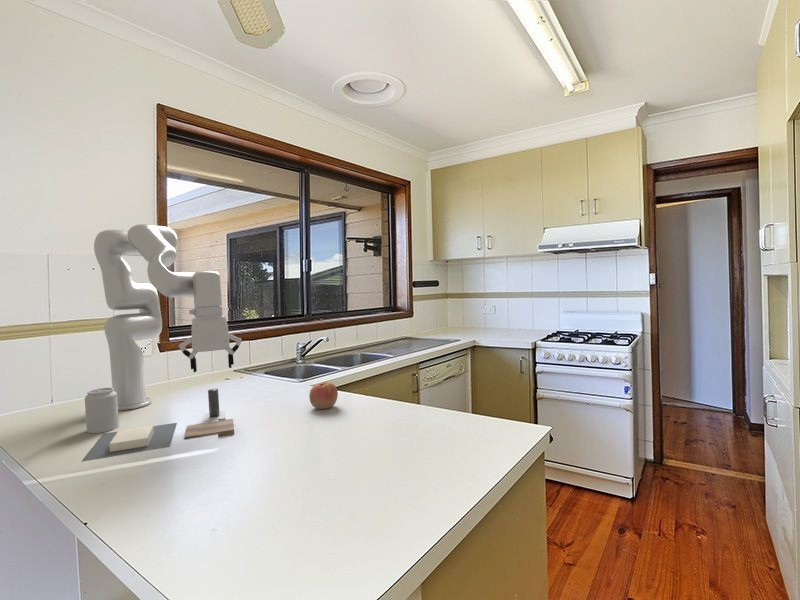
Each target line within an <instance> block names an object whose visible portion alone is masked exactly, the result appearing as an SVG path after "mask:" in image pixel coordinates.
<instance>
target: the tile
mask: <svg viewBox="0 0 800 600" xmlns="http://www.w3.org/2000/svg"><path fill="white" fill-rule="evenodd" d="M153 426H154V425H150V426H142V427H135V428H131V429H122V430H117V431H118V432H117V431H116V432H117V434H116V435H115V437H114V438H113V439H112V441H111V442H110V444H109V446H110V452H114V451H120V450H126V449H132V448H138V447H144V446H148V445H149V443H150V440H151V438H152V436H153V434H154V428H153Z"/></svg>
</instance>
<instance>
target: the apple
mask: <svg viewBox="0 0 800 600" xmlns="http://www.w3.org/2000/svg"><path fill="white" fill-rule="evenodd" d="M338 393H339V392H338V389H337V386H336V385H335V384H334V383H333V382H330V381H325V382H319V383H316V384H314V385H313V386H312V387H311V389H310V390H309V395H308V396H309V402H310V404H311V406H312V407H313V408H315V409H317V410H325V409H330V408H332V407H333V406H335V404H336V403H337V400H338V395H339V394H338Z"/></svg>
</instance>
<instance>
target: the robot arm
mask: <svg viewBox="0 0 800 600" xmlns="http://www.w3.org/2000/svg"><path fill="white" fill-rule="evenodd" d="M177 244H178V236H177V234H176V232H175V231H174V230H173V229H172V228H170V227H167V226H164V225H155V224H147V223H141V224H136V225H134V226H131V227H130V228H129V229H128V230H124V229H105V230H102V231H99V232H98V233H97V235H96V236H95V238H94V242H93V251H94V254H95V255H94V256H95V258H96V261H97V264H98V266H99V268H100V271H101V274H102V275H101V276H102V283H103V289H104V297H105V301H106V305H107V307H108V308H109V309H111V310H113V311H131V310H138V311H139V312H135V313H134V312H133V313H132V312H131V313H123V314H116V315H113V316H111V317H109V318H108V319H107V320H106V321H105V323H104V328H103V329H104V334H105V338H106V341H107V345H108V351H109V363H110V376H111V388H114V390H113V391H115V392H116V393H117V403H118V412H119V411H129V410H134V409H138V408H143V407H145V406H148V405H150V404H151V403H152V398H150V397H147V394H146V393H147V392H146V378H145V377H146V376H145V366H144V365H145V363H144V354H143V350H142V349H141V347H140V346H139V345H138V344H137V341H142V340H148V339H154V338H156V337H158V336H159V335H160V334H161V333H162V331H163V320H162V313H161V305H160V299H159V294H158V292H159V293H160V294H161V295H162V296H164V297H167V298H174V299H175V298H186V297H187V298H191V297H193V305H194V307H193V309H189V315H193V316H194V317H193V318H192V320H191V337H190V338H188V339H186V340H185V341H183V342H181V343H180V344H178V348H179V349H180V351H181V352H182V354H183V355H184V356H186V357H187V358H189V361H190V363H189V364H190V369H191V370H193V373H197V370H198V369H197V357H196V355H197V354H198V353H204V352H213V351H216V352H217V351H224V350H225V351H226V352H227V353H228V354H227V359H228V360H227V361H228V368H229V369H231V368H232V365H234V353H236V352H237V351H238V349H239V348H240V346H241V344H242V341H243V339H242V338H241V337H237V336H235V335H233V334H231V333H230V332H229V326H228V321H227V318H226V315H223V300H222V288H221V276H220V273H219V272H218V271H213V270H207V271H206V270H205V271H204V270H202V271H170V270H169V269H168V268H170V267H171V266H172V265H173V264H174V262H175V261H176V259H177V256H178V255H177V251H176V249H175V248H176V247H177V246H178V245H177ZM121 256H127V257H130V256H131V257H143V259H144V260H145V261H146V262H147V263H148V264H147V271H146V272H147V277H148V280H149V282H150V283H149V282H144V281H143V282H134V278H133V273H132V269H131V267H130V266H129V264H128V263H127V261H126V260H124V258H122V257H121ZM229 333H230V334H229ZM231 340H232V341H233V342H235V344H234V346H233V347H230V341H231ZM190 344H191V348H192V351H191V352H190V351H189V350H188V349H187V348H186V346H188V345H190Z"/></svg>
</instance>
